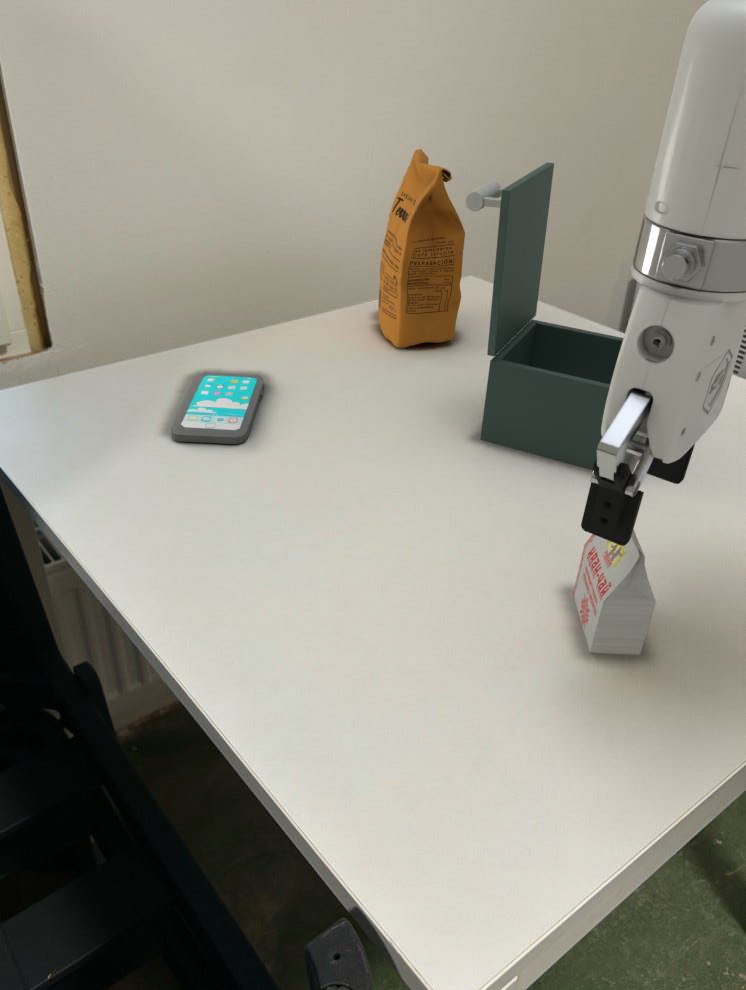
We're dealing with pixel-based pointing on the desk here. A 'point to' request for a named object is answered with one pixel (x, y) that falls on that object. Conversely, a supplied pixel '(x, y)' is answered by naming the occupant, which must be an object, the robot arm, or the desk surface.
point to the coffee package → (421, 259)
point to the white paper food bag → (614, 596)
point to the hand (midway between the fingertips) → (633, 504)
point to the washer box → (551, 392)
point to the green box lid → (516, 250)
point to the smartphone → (218, 408)
